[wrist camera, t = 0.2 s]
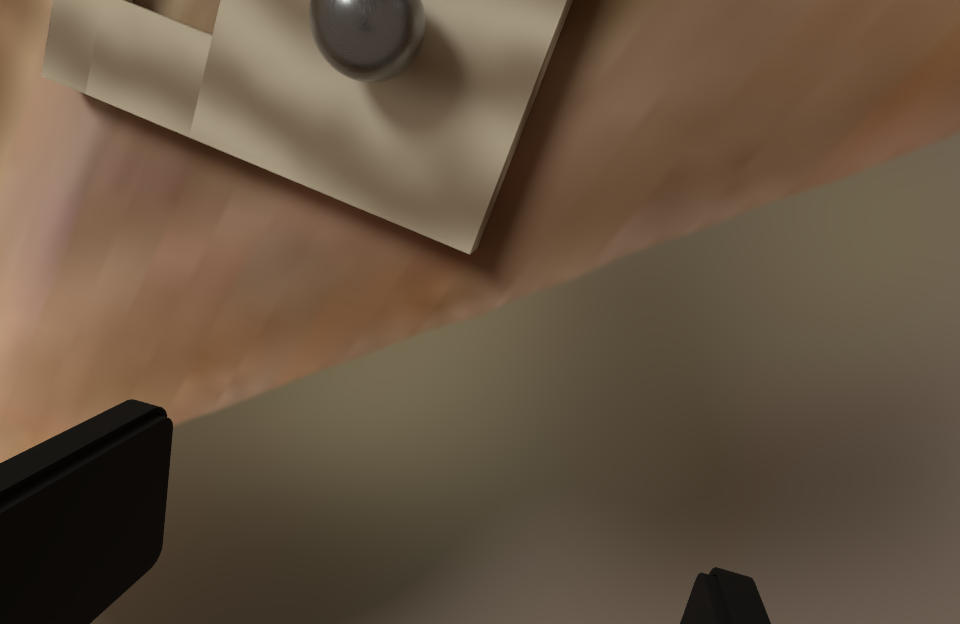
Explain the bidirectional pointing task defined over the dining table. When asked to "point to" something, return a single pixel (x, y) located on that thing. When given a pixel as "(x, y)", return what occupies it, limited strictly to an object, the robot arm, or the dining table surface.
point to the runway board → (329, 98)
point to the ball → (368, 36)
